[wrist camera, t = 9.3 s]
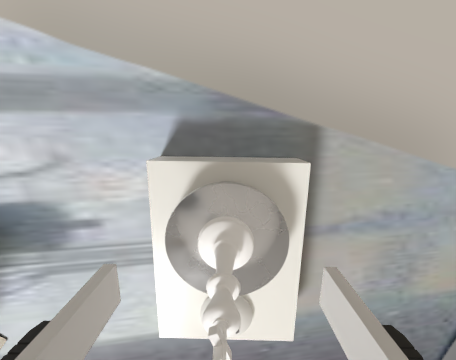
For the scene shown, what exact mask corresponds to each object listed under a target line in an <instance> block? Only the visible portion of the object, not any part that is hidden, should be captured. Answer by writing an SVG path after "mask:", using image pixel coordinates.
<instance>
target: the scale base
mask: <svg viewBox="0 0 456 360" xmlns="http://www.w3.org/2000/svg"><path fill="white" fill-rule="evenodd" d="M146 162H147V175H148V189H149V203H150V216H151V230H152V243H153V257H154V270H155V284H156V297H157V311H158V325H159V337H162V338H198V339H209V337H208V333H207V332H206V330H205V329H204V327H203V325H202V316H203V313H204V311H205V309H206V307H207V306H208V304H209V303H210V301H211V299H210V297H209V296H208V294H207V293H204V292H202V291H199V290H197V289H195V288H194V287H192V286H190V285H189V284H188V283H186V282H185V281H184V280H183V279H182V278H181V277H180V276H179V275H178V274H177V272H176V271H175V270H174V268H173V267H172V265H171V263H170V261H169V258H168V256H167V252H166V247H165V232H166V227H167V224H168V220H169V218H170V216H171V214H172V213H173V211H174V210H175V208H176V207H177V205H178V204H179V203H180V202H181V201H182V199H183V198H184V197H186V196H187V195H188V194H189V193H191V192H192V191H194V190H195V189H197V188H199V187H202V186H204V185H207V184H210V183H215V182H224V181H230V182H238V183H243V184H246V185H249V186H252V187H254V188H256V189H258V190H260V191H261V192H263V193H264V194H266V195H267V196H268V197H269V198H270V199H271V200H272V201H273V202H274V203H275V204H276V206H277V207H278V209H279V210H280V212H281V213H282V215H283V217H284V219H285V221H286V224H287V228H288V232H289V249H288V254H287V257H286V260H285V262H284V264H283V266H282V268H281V270H280V271H279V273H278V274H277V275H276V276H275V277H274V278H273V279H272V280H271V281H270V282H269V283H268V284H266V285H265V286H263V287H262V288H260V289H258V290H256V291H254V292H251V293H249V294H245V295H241V296H238V297H237V298H236V299H235V300H234V302H235V305H236V307H237V308H238V311H239V313H240V317H241V325H240V328H239V329H238V331H237V332H236V333H235V334H233V335H232V336H230V337H227V339H235V340H271V341H293V337H294V327H295V317H296V307H297V297H298V287H299V277H300V267H301V257H302V247H303V237H304V227H305V217H306V207H307V197H308V187H309V177H310V167H311V163H309V162H307V161H304V160H301V159H299V158H262V157H191V156H160V157H156V158H153V159H150V160H147V161H146Z"/></svg>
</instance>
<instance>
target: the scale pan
mask: <svg viewBox="0 0 456 360" xmlns="http://www.w3.org/2000/svg"><path fill="white" fill-rule="evenodd" d="M223 216H229V217H234V218H237V219H239V220H241V221H243V222H244V223H245V224H246V225H247V226H248V227H249V228H250V230H251V232H252V234H253V237H254V249H253V253H252V256H251V258H250V259H249V260H248V262H247V263H246V264H245V265H243V266H242V267H240V268H238V269H235V270H233V272H232V275H234V276H235V277H236V278H237V279H238V281H239V283H240V293H239V295H238V296H241V295H245V294H249V293H251V292H254V291H256V290H258V289H260V288H262V287H263V286H265V285H266V284H268V283H269V282H270V281H271V280H272V279H273V278H274V277H275V276H276V275H277V274H278V273H279V271H280V270H281V268H282V266H283V264H284V262H285V260H286V257H287V254H288V249H289V232H288V228H287V224H286V221H285V219H284V217H283V215H282V213H281V212H280V210H279V209H278V207H277V206H276V204H275V203H274V202H273V201H272V200H271V199H270V198H269V197H268V196H267V195H266V194H264V193H263V192H261V191H260V190H258V189H256V188H254V187H252V186H249V185H246V184H243V183H238V182H230V181H224V182H215V183H210V184H207V185H204V186H202V187H199V188H197V189H195V190H194V191H192V192H191V193H189V194H188V195H187V196H186V197H184V198H183V199H182V201H181V202H180V203H179V204H178V205H177V207H176V208H175V210H174V211H173V213H172V214H171V216H170V218H169V220H168V224H167V227H166V232H165V247H166V252H167V256H168V258H169V261H170V263H171V265H172V267H173V268H174V270H175V271H176V272H177V274H178V275H179V276H180V277H181V278H182V279H183V280H184V281H185V282H186V283H188V284H189V285H190V286H192V287H194V288H195V289H197V290H199V291H202V292H204V293H207V290H206V285H207V281H208V280H209V278H210V277H211V276H213V275H214V274H216V269H215V268H212V267H211V266H209V265H208V264H207V263H206V262H205V261H204V260H203V259H202V257H201V256H200V253H199V250H198V237H199V233H200V231H201V229H202V228H203V227H204V225H205V224H206V223H208V222H209V221H210V220H212V219H214V218H217V217H223ZM207 294H208V293H207Z"/></svg>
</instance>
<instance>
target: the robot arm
mask: <svg viewBox="0 0 456 360" xmlns="http://www.w3.org/2000/svg"><path fill="white" fill-rule="evenodd" d="M120 301H121V299H120V291H119V283H118V275H117V267H116V264H104V265H103V266H102V267H101V268H100V269H99V270H98V271H97V272H96V273H95V274H94V275H93V276H92V277H91V278H90V280H89V281H88V282H87V283H86V284H85V285H84V286H83V287H82V288H81V289H80V290H79V291H78V292H77V293H76V295H75V296H74V297H73V298H72V299H71V300H70V301H69V302H68V303H67V304H66V305H65V306H64V307H63V308H62V309H61V311H60V312H59V313H58V314H57V315H56V316H55V317H54V318H53V319H52V320H51V321H43V322H41V323H40V324H39V325H37V326H36V327H34V328H33V329H31V330H30V331H29V332H28V333H27V334H26V335H25V336H24V337H23V338H22V339H21V340H20V341H19V342H18V344H17V345H15V346H14V347H13V348H12V349H11V350H10V351H9V352H8V354H7V355H5V356H4V357H3V358H2V359H1V360H84V358H85V356H86V355H87V353H88V352H89V350H90V349H91V347H92V345H93V344H94V342H95V341H96V339H97V337H98V336H99V334H100V333H101V331H102V330H103V328H104V326H105V325H106V323H107V322H108V320H109V319H110V317H111V315H112V314H113V312H114V311H115V309H116V308H117V306H118V304H119V303H120ZM319 304H320V306H321V308H322V310H323V312H324V314H325V316H326V318H327V320H328V322H329V323H330V325H331V327H332V329H333V331H334V333H335V335H336V337H337V339H338V341H339V343H340V345H341V347H342V348H343V350H344V352H345V354H346V356H347V358H348V360H423V357H422V356H421V355H420V354H419V352H418V351H417V350H415V349H414V347H413V345H412V344H411V343H410V342H409V341H408V340H407V338H406V337H405V336H404V335H403V334H402V333H400V332H399V331H398V330H396V329H395V328H394V327H393V326H391V325H381V324H380V322H379V321H378V320H377V319H376V317H375V316H374V315H373V313H372V312H371V311H370V310H369V308H368V307H367V306H366V304H365V303H364V302H363V301H362V299H361V298H360V297H359V296H358V294H357V293H356V292H355V290H354V289H353V288H352V287H351V285H350V284H349V283H348V282H347V280H346V279H345V278H344V276H343V275H342V274H341V273H340V271H339V270H338V269H337V268H336V267H324V271H323V279H322V286H321V294H320V301H319Z"/></svg>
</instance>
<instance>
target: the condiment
mask: <svg viewBox="0 0 456 360" xmlns="http://www.w3.org/2000/svg"><path fill="white" fill-rule="evenodd" d="M5 342H6V339H4V338H2V337H0V349H1V348H2V346H3V345H4V343H5Z"/></svg>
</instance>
